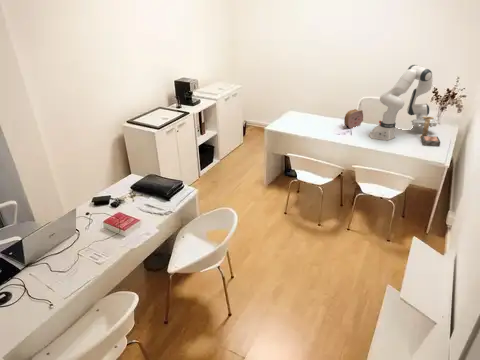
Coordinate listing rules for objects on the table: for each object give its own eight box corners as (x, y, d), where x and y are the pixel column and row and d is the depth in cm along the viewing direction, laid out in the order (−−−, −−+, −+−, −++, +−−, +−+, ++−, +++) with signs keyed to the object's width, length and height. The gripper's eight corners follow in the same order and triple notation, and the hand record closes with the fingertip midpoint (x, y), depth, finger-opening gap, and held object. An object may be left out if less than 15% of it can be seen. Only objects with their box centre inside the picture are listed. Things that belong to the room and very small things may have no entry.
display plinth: (422, 145, 309) (423, 141, 307) (420, 140, 319) (421, 135, 317) (439, 146, 305) (440, 141, 303) (436, 140, 315) (437, 136, 313)
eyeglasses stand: (419, 138, 321) (423, 118, 311) (418, 135, 327) (422, 115, 317) (429, 139, 319) (434, 118, 309) (428, 136, 325) (432, 115, 315)
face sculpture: (348, 129, 350) (349, 113, 342) (343, 127, 355) (344, 111, 347) (362, 125, 358) (364, 109, 350) (357, 123, 363) (359, 107, 355)
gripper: (411, 117, 333) (413, 122, 321) (435, 117, 327) (438, 123, 316) (410, 123, 336) (412, 129, 324) (434, 124, 330) (437, 130, 319)
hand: (425, 126), depth 320 cm, fingers open, 8 cm apart
